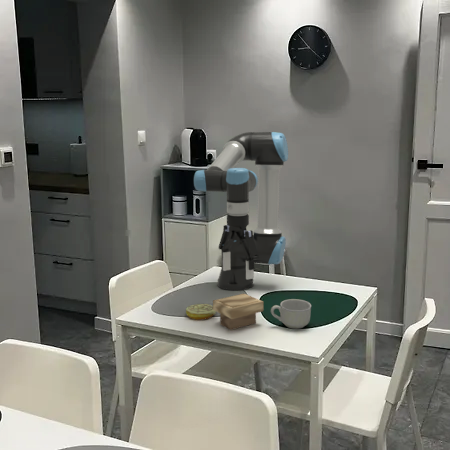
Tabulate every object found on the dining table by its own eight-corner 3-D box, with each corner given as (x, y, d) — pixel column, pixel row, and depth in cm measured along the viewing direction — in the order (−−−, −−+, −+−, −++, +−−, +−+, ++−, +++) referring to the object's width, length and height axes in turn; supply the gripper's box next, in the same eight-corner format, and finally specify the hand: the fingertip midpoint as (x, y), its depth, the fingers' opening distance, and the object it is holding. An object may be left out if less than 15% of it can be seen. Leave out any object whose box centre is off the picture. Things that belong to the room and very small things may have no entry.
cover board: (213, 309, 215) (212, 299, 214) (243, 302, 222) (243, 292, 221) (231, 319, 205) (231, 308, 205) (263, 311, 213) (263, 300, 212)
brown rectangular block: (219, 324, 214) (219, 311, 213) (245, 318, 221) (245, 304, 220) (230, 330, 209) (230, 316, 208) (256, 323, 215) (256, 309, 214)
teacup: (310, 320, 218) (310, 299, 216) (311, 331, 207) (311, 309, 205) (271, 319, 219) (271, 298, 217) (270, 330, 208) (270, 308, 207)
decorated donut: (221, 317, 223) (221, 307, 222) (196, 323, 216) (196, 313, 216) (205, 309, 231) (205, 300, 230) (181, 315, 225) (180, 305, 224)
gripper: (208, 210, 215) (209, 268, 219) (251, 220, 195) (251, 284, 199) (225, 207, 219) (226, 265, 223) (269, 218, 199) (269, 280, 203)
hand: (238, 274), depth 211 cm, fingers open, 13 cm apart
